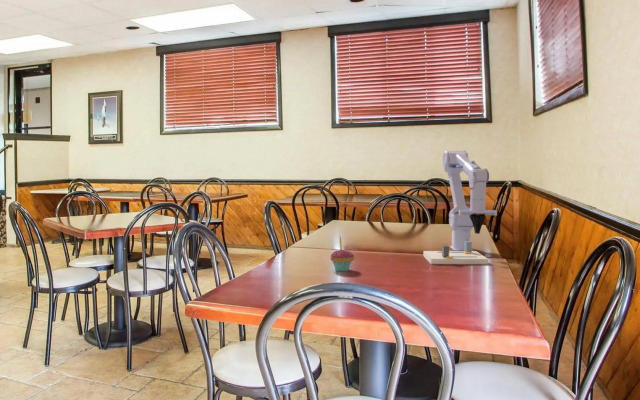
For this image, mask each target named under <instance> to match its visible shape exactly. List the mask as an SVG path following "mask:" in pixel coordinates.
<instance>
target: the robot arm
mask: <svg viewBox="0 0 640 400" xmlns="http://www.w3.org/2000/svg"><path fill="white" fill-rule="evenodd" d="M442 165H443V170H444V171H445V172H446V173H447V175H448V182H449V186H450V192H451V196H452V197H451V198H452V202H453V203H452V204H453V208H452V209H450V211H449V213H448V217H449V218H448V223H449V226H450V228H451V230H452V229H453V230H452V232H451V245H448V246H449V249H450V248H451V249H452V251H464V241H470V242H471V236H472V235H471V232H472V231H471V230H473V229H474V233H475V234H477V235H478V234H480V233H481V229H482V227H483V224H484V222H485V221H486V218H487V216H498V210H496V209H486V206H487V205H486V201H487V200H486V199H487V198H486V197H487V183H488V182H489V179H490V173H489V170H488V168H482V167H480V166H479V165H478V164H477V162H476V161H475V160H470V159H469V153H468V151H466V150H445V151H444V153H442ZM461 173H465V174H466V175H467V177H468V178H467V179H468V184H469V188H470V197H469V198H470V200H469V201H470V203H469V204H470V207H469V206H467V205H466V200H465V195H464V194H465V193H464V189H463V184H462V178H461V175H460V174H461ZM471 251H474V249H473V248H472V249H471Z"/></svg>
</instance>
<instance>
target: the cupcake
mask: <svg viewBox="0 0 640 400" xmlns="http://www.w3.org/2000/svg"><path fill="white" fill-rule="evenodd" d="M342 242H343V241H342V237H341V236H339V250H334V251H333V252H332V253H331V254H330V261H331V263H332V264H333V266H334V267H333V268H334V269H335V271H337V272H347V271H349V270H350V267H351V264H352V262H353V261H355V259H356V258H355V254H354V253H352V252H351V251H350V250H346V249H343V244H342Z"/></svg>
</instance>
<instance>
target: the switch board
mask: <svg viewBox="0 0 640 400" xmlns="http://www.w3.org/2000/svg"><path fill="white" fill-rule="evenodd" d="M422 255H423V257H424V258H425V259H426V260H427V262H428V263H429V264H431V265H489V258H487V256H484V255H483V254H481V253H480V252H478V251H477V250H473V251H471V252H465V251H454V250H449V256H446V257H443V256H442V250H423V253H422Z"/></svg>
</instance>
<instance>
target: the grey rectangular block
mask: <svg viewBox="0 0 640 400" xmlns="http://www.w3.org/2000/svg"><path fill="white" fill-rule="evenodd" d="M472 244H473V243H472V241H471V240H470V241H464V251H465V252H471V249H473V248H472V247H473V246H472Z"/></svg>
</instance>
